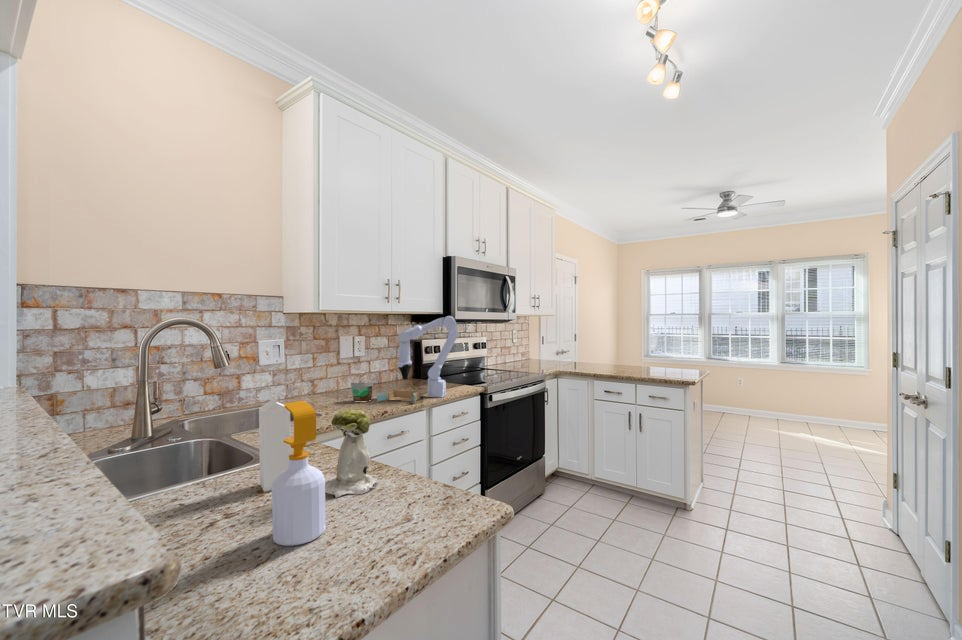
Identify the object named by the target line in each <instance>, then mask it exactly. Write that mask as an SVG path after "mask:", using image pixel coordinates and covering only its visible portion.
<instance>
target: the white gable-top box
mask: <svg viewBox="0 0 962 640" xmlns="http://www.w3.org/2000/svg"><path fill="white" fill-rule="evenodd" d="M284 405H285V404H283V403H280V402H278V398H277V396H276V395H275V394H271V400H269V401H268V402H266V403H264V404H263V405H262V406H260V407H259V408H258V429H259V430H258V432H259V436H258V442H259V443H258V444H259V447H258V448H259V449H258V451H259V485H260V487H261V489H262V491H263V492H264V493H266V492H270V491H271V492H272V485H273V482H274V480H275V479H276V478H277V477H278V476H279V475H280V474H281V473H282V472H284V471H285V470H287V469H288V468H289V455H291V454H292V453H291V452H292V451H291V449H292V448H291V447H290V444H287V443H284V442H283V440H284V439H287V438H291V413H290V412H289V411H288V410H287V409H286V408H285V407H284Z"/></svg>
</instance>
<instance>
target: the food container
mask: <svg viewBox="0 0 962 640" xmlns="http://www.w3.org/2000/svg"><path fill="white" fill-rule="evenodd" d="M373 386H374V382H373V381H367V382H354V380H353V381H351V382H350V387H351V389H352V391H351V392H352V399H353V400H354V401H369V400H371V401H372V396H373V395H372V394H373ZM353 400H352V401H353Z"/></svg>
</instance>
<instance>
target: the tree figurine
mask: <svg viewBox="0 0 962 640" xmlns="http://www.w3.org/2000/svg"><path fill="white" fill-rule="evenodd" d="M331 425H332V426H333V427H334V428H336V430H339V431H341V433H342V436H343V441H342V442H341V445H340V449H339V453H338V459H337V465H336V471H337V472H336V474H335V475H333V476H331V478H325V494H330V495H334V496H335V499H337V498H339V497H341V496H344V495H346V494H352V495H364V494H365V493H368V492H369V491H370V489H372V488H373V486H374V488H376V485H375V484H378V483H379V478H377V477H378V476H377V474H371V475H370V474H368V473H367V469H368V466H369V465H370V463H371V461H372V460H371V458H370V453H369V452H370V451H371V450H370V449H371V448H368V446H367V443H366V441H365V438H364V434H367V433H368V432H369V430H370V427H371V419H370V418H369V416H368V415H367V413H366V412H364V411H363V410H359V409H345V410H342V411H340V412H337V413H335V414H334V415H333V418H332V419H331ZM363 493H364V494H363Z"/></svg>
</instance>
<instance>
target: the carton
mask: <svg viewBox="0 0 962 640" xmlns="http://www.w3.org/2000/svg"><path fill="white" fill-rule="evenodd" d="M413 393H414V394H415V395H416V401H419V400H420V399H421V390H412V389H411V390H408V389H407V390H405V389H401V390H400V389H398V390H397V389H395V390H391V391H389V392H387V401H388V400H389V399H391V398H393V397H400V398H398V399H395V400H401V401H400V402H414V401H413Z"/></svg>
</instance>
